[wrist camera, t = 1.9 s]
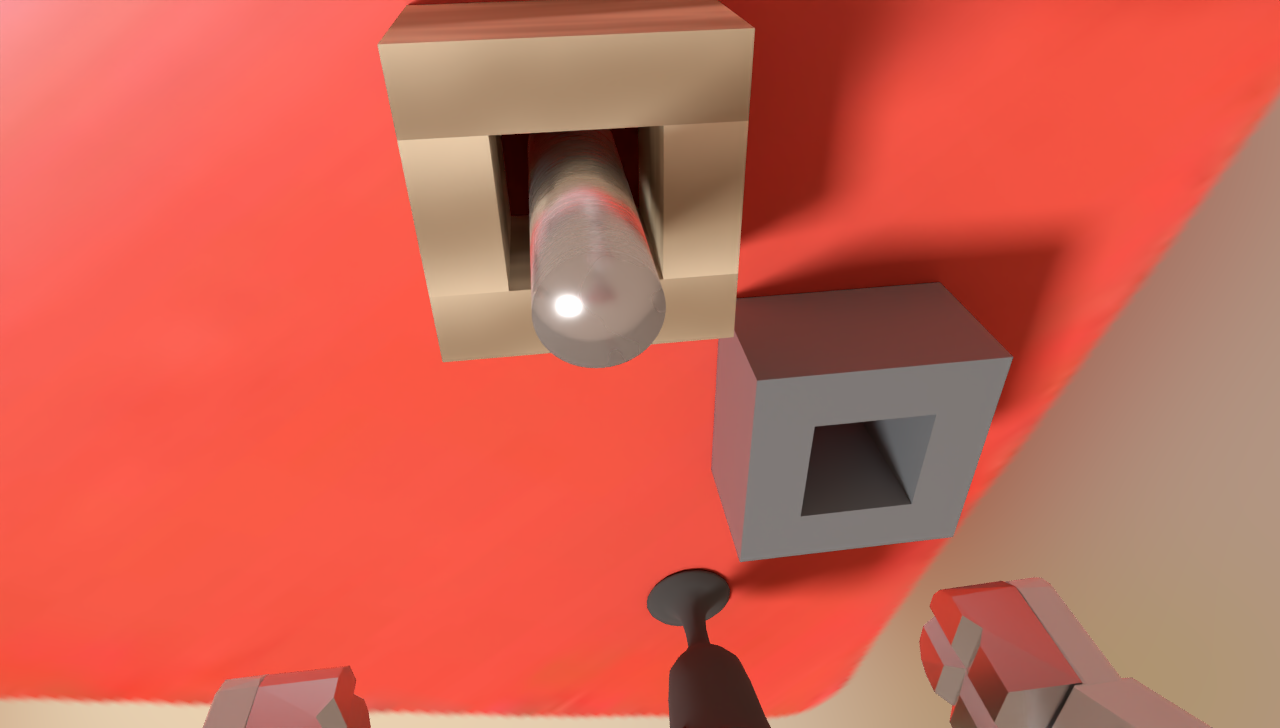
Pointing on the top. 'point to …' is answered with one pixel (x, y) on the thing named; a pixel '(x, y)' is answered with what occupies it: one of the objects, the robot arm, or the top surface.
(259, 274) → the top surface
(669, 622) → the sundae
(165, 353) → the top surface
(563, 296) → the pin
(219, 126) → the top surface
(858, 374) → the dock block
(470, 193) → the mount block
